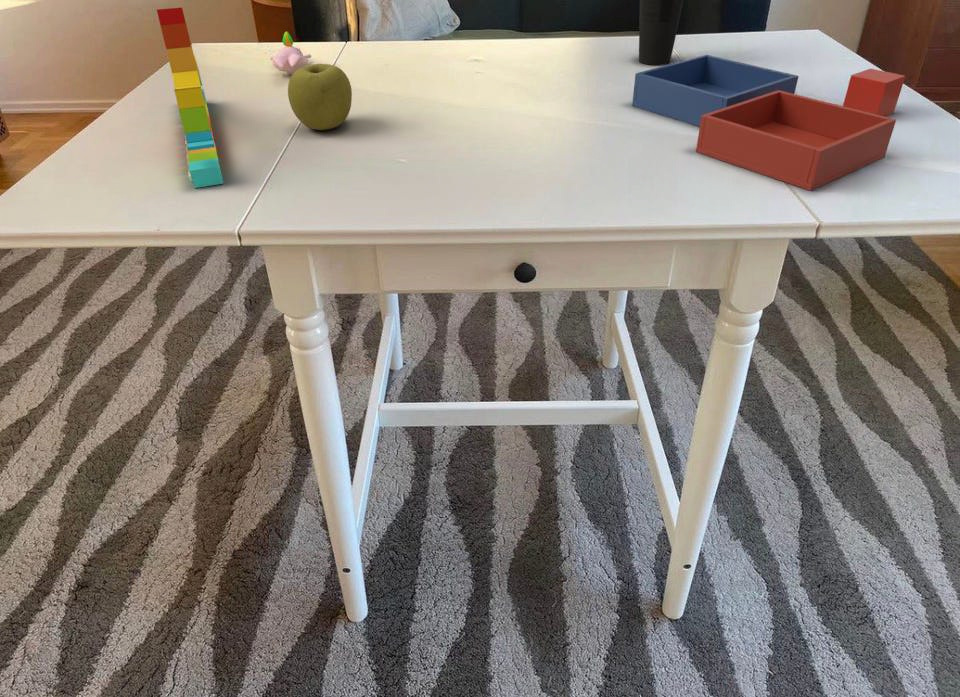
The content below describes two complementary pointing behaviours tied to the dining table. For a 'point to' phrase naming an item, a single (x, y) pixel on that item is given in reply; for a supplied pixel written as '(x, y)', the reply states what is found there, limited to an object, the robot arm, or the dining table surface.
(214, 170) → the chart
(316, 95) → the apple
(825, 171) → the red bin
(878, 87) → the red block
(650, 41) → the drinking cup
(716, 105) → the blue bin
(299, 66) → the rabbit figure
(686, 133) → the dining table surface
